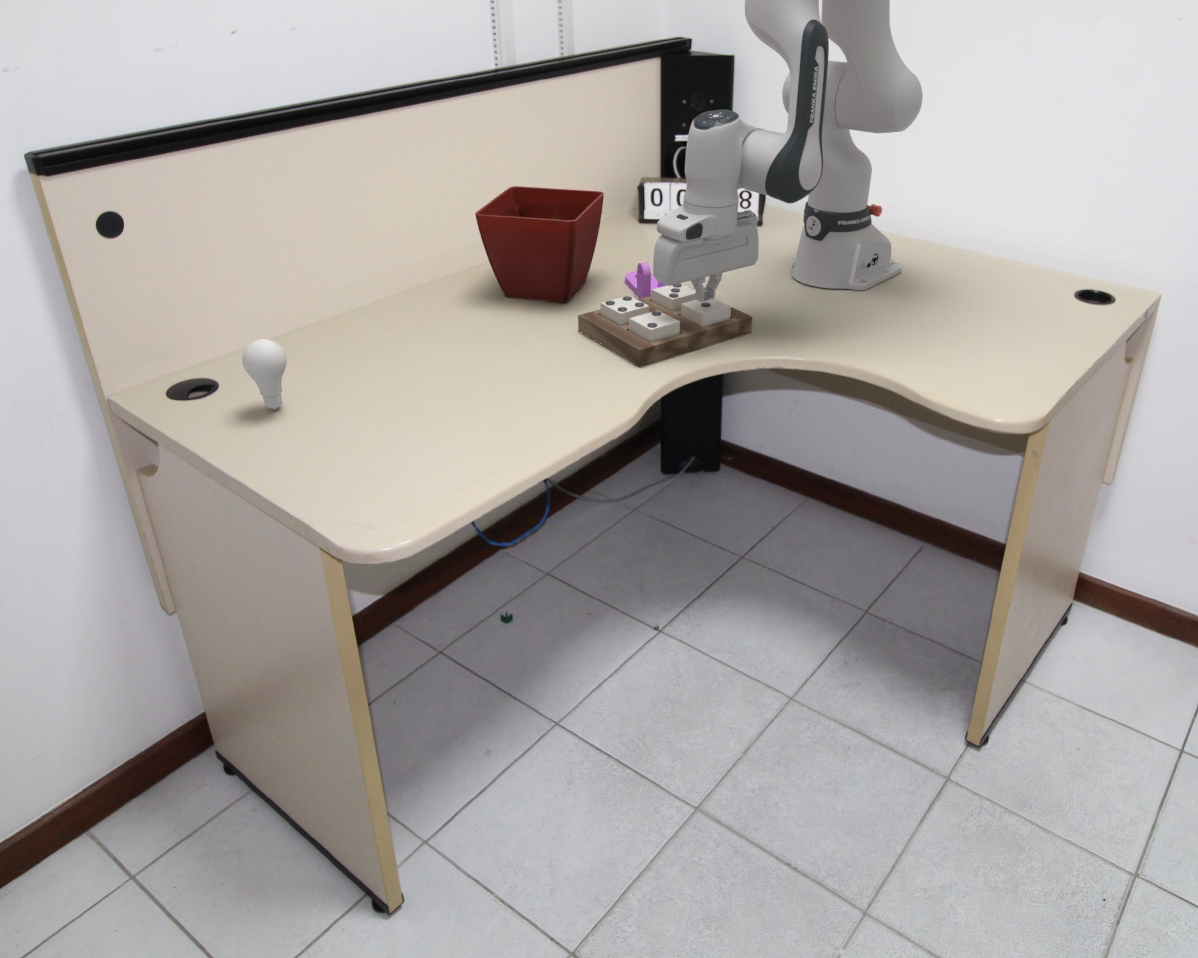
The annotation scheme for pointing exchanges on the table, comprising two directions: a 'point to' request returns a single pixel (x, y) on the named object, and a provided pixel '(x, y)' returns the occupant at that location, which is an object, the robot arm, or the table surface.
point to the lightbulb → (266, 369)
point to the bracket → (642, 281)
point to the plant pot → (541, 240)
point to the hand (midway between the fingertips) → (705, 299)
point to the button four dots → (623, 309)
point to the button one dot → (705, 312)
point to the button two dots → (654, 326)
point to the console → (665, 348)
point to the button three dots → (672, 296)
